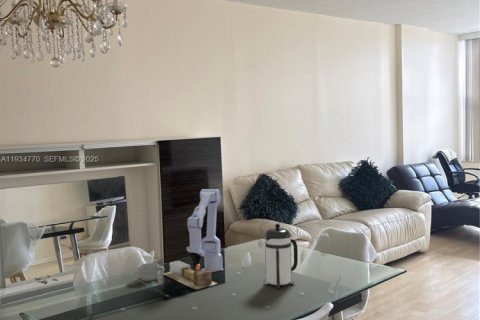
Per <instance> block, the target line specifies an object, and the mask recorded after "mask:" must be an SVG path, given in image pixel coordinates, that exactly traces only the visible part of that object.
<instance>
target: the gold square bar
mask: <svg viewBox="0 0 480 320" xmlns="http://www.w3.org/2000/svg"><path fill="white" fill-rule="evenodd" d="M200 270H201V264H200V263H199V264H196V268H195V270H193V269H192V268H191V269H189V268H185V269H183V275H184V276H186V277H189V278H191V279H193V280H194V272H196V271H200Z"/></svg>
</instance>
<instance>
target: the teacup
mask: <svg viewBox="0 0 480 320" xmlns="http://www.w3.org/2000/svg"><path fill="white" fill-rule="evenodd" d="M137 268H138V269H137V270H138V271H137V272H138V273H137V274H138V277H139V279H140V280H141V281H142V282H143V281H144V282H153V281H156V279H158V278H160V277H161V275H164V274H163V273H165V267H164V266H162V265H160V264H159V263H157V262H148V263H147V262H145V263H142V264H141V263H140V264H139V265H137ZM160 269H161V270H162V271H161V272H160Z"/></svg>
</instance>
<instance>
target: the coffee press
mask: <svg viewBox="0 0 480 320" xmlns="http://www.w3.org/2000/svg"><path fill="white" fill-rule="evenodd" d="M291 237H292V233H291V232H290V230H289V229H287V228H284V227H281V225H280V223H276V224H275V225H274V227H273V228H269V229H268V230H266V231H265V233H264V239H265V240H264V241H265V242H264V246H265V247H264V252H265V253H264V257H265V260H264V261H265V279H264V281H263V283H265V282H266V283H267V284H270V285H273V286H276V290H281V286H285V285H288V284H290V285H291V284H295V281H294V280H293V276H292V274H293V273H292V272H294V271H295V270H296V269H297V266H298V261H299V260H298V259H299V256H298V244H297V241H296V240H295V239H292V238H291ZM292 245H293V264H292ZM291 281H292V282H291Z"/></svg>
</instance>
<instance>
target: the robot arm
mask: <svg viewBox="0 0 480 320" xmlns="http://www.w3.org/2000/svg"><path fill="white" fill-rule="evenodd" d="M199 199H200V201H199V204H198V206H196V207H195V208H194V210H193V213H192V214H191V216H189V217H188V218H187V222H186V225H187V230H188V232H189V246H186V251H187V252H188V253H189V257H190V259H191V261H192V264H193V268H194V269H196V264H200V261H201V258H202V257H204V258H203V259H204V268H201V270H204V269H207V270H209V271H211V273H214V272H218V271H224V267H223V266H224V265H223V264H224V263H223V262H224V261H223V260H224V259H223V255H222V254H221V250H222V248H221V247H222V245H221V240H220V238H218V237H217V236H216V235H217V234H216V232H217V212H218V211H217V210H218V206H219V205H221V204H220V203H221V191H220V190H219V189H218V188H215V189H213V188H212V189H211V188H202V189H201V190H200V192H199ZM206 208H207V210H206ZM206 212H207V217H206V218H207V221H206V223H207V224H206V236H205V237H203V238H202V228H203V223H204V217H205V215H206Z"/></svg>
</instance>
